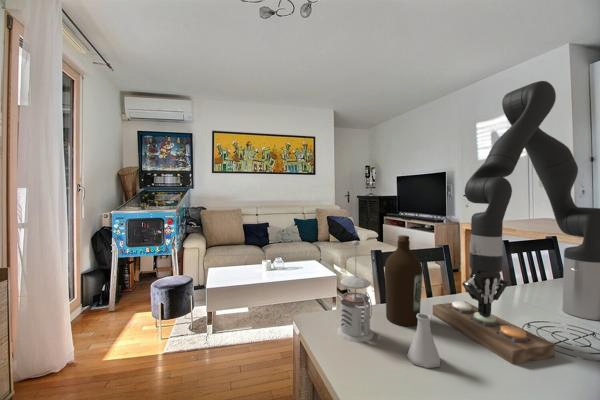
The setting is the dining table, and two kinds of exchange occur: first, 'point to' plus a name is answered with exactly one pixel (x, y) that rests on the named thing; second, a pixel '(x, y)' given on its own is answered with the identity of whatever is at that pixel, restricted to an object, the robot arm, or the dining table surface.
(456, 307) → the button cream
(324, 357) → the dining table surface
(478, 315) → the button sage
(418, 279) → the olive oil
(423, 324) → the flask
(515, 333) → the button orange
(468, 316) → the console
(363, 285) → the french press
